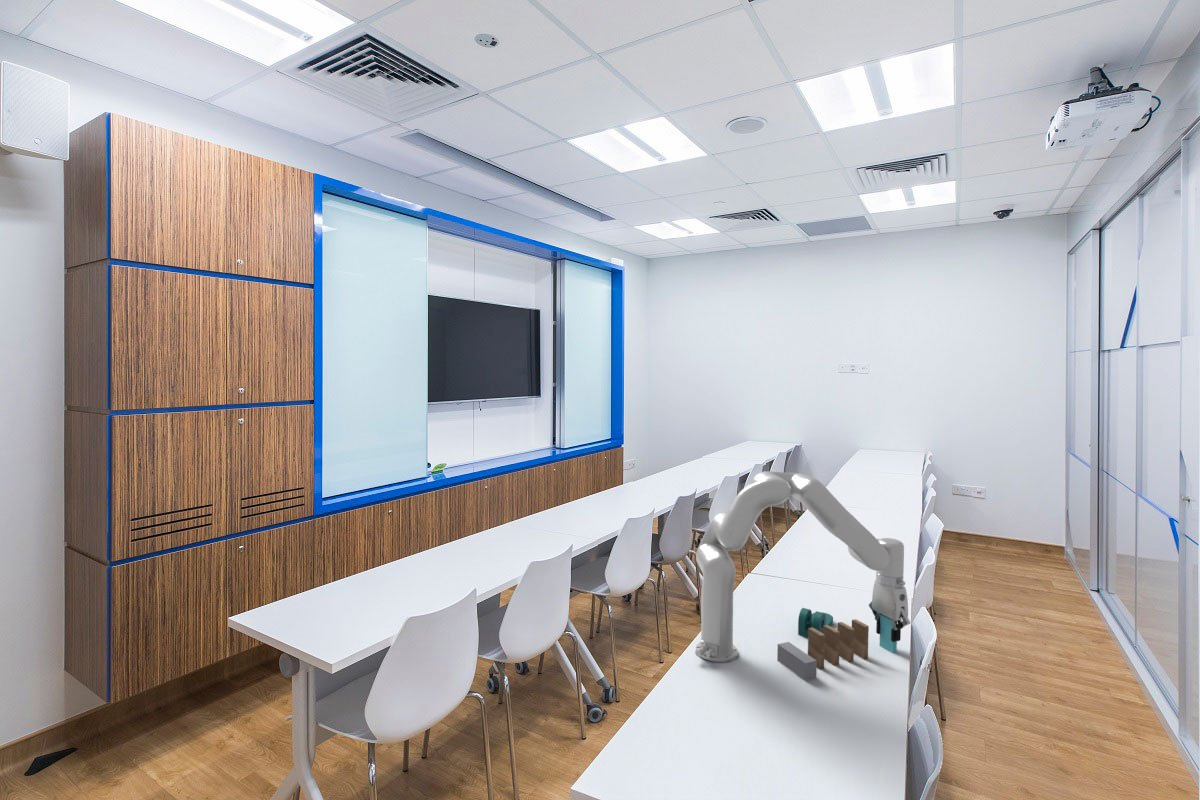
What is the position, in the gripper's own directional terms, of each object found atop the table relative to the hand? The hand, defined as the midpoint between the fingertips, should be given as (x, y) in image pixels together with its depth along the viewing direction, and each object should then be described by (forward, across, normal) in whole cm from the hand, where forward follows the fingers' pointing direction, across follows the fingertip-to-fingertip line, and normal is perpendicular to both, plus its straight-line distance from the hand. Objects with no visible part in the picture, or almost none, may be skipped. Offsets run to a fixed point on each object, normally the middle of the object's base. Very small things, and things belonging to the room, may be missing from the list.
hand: (888, 636), depth 179 cm
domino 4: (+4, 0, +11) cm, 12 cm away
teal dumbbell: (+4, +20, +10) cm, 23 cm away
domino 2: (+4, 0, +22) cm, 23 cm away
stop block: (+4, 0, +35) cm, 35 cm away
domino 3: (+4, 0, +17) cm, 17 cm away
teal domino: (+4, 0, 0) cm, 4 cm away
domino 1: (+4, 0, +28) cm, 28 cm away
